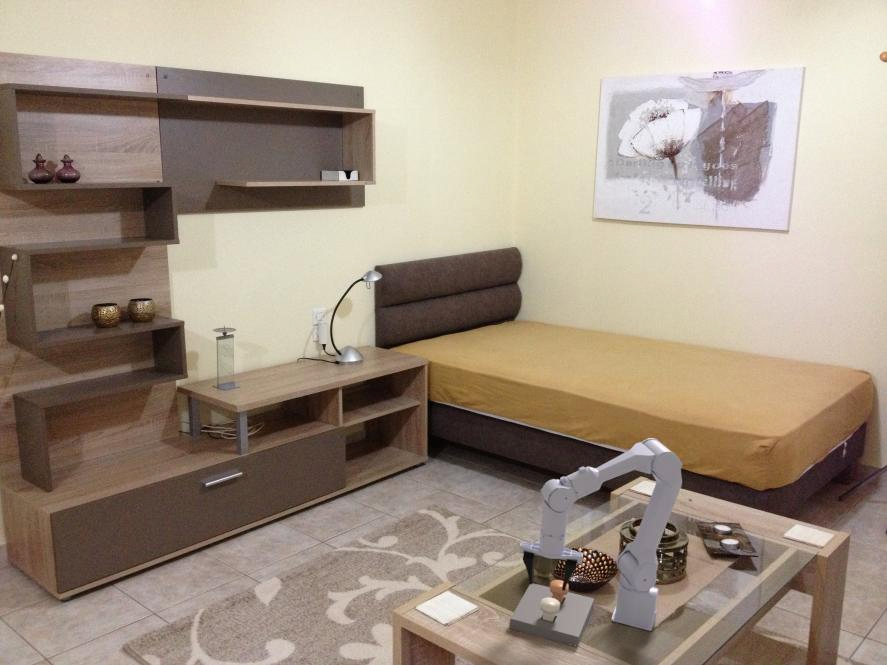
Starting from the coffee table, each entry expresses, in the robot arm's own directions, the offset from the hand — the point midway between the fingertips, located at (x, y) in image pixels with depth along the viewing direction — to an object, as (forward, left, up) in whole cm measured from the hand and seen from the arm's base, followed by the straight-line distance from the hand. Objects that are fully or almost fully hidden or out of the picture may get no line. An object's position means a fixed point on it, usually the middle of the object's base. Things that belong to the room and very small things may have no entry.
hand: (547, 585), depth 190 cm
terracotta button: (-1, -7, -7) cm, 10 cm away
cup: (+6, -21, -10) cm, 24 cm away
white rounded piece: (-1, +2, -7) cm, 7 cm away
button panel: (-1, -3, -10) cm, 10 cm away
